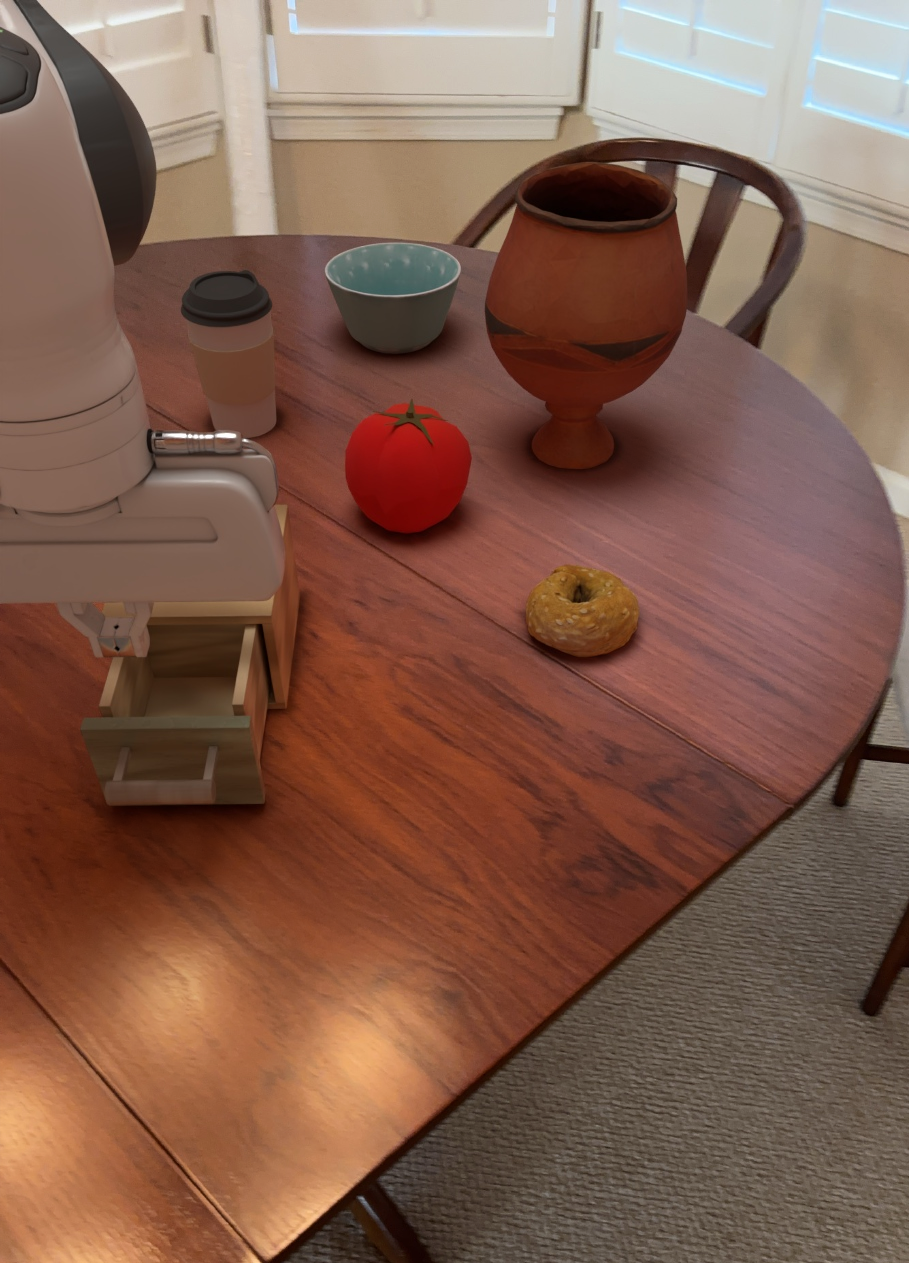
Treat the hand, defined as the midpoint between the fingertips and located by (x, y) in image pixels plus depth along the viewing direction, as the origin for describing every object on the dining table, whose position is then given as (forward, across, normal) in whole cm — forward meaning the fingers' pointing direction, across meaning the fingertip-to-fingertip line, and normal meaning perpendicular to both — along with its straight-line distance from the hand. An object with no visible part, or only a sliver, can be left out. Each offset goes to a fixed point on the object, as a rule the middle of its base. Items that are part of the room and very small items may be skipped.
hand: (123, 650), depth 62 cm
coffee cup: (+18, +2, -60) cm, 62 cm away
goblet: (+18, -33, -54) cm, 66 cm away
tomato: (+18, -16, -42) cm, 48 cm away
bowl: (+18, -14, -80) cm, 83 cm away
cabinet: (+18, 0, -22) cm, 28 cm away
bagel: (+18, -31, -25) cm, 44 cm away
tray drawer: (+17, 0, -8) cm, 19 cm away
